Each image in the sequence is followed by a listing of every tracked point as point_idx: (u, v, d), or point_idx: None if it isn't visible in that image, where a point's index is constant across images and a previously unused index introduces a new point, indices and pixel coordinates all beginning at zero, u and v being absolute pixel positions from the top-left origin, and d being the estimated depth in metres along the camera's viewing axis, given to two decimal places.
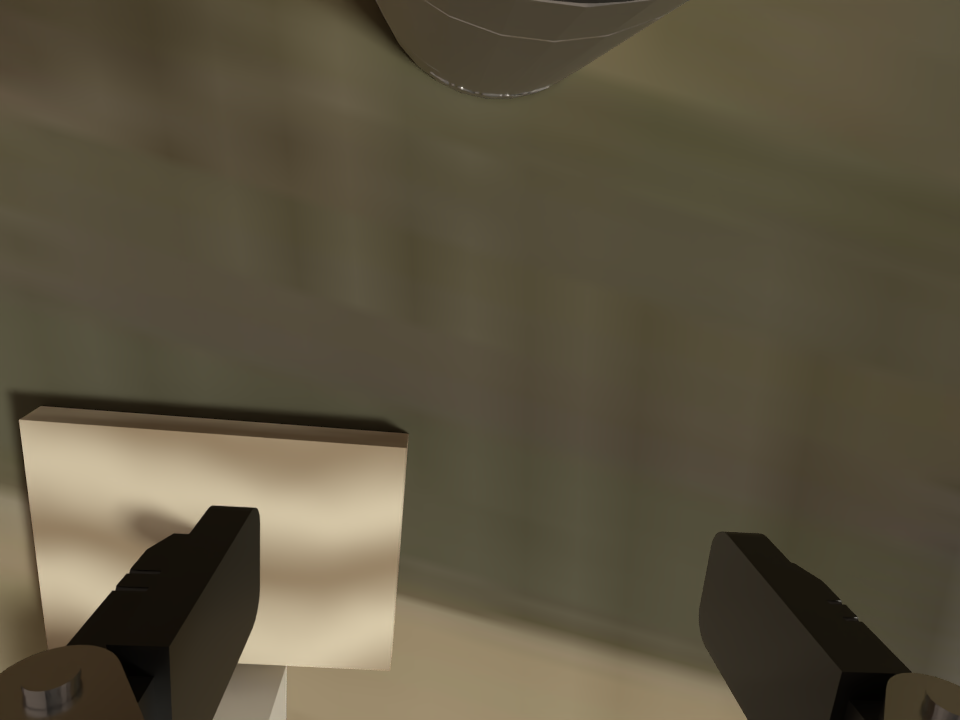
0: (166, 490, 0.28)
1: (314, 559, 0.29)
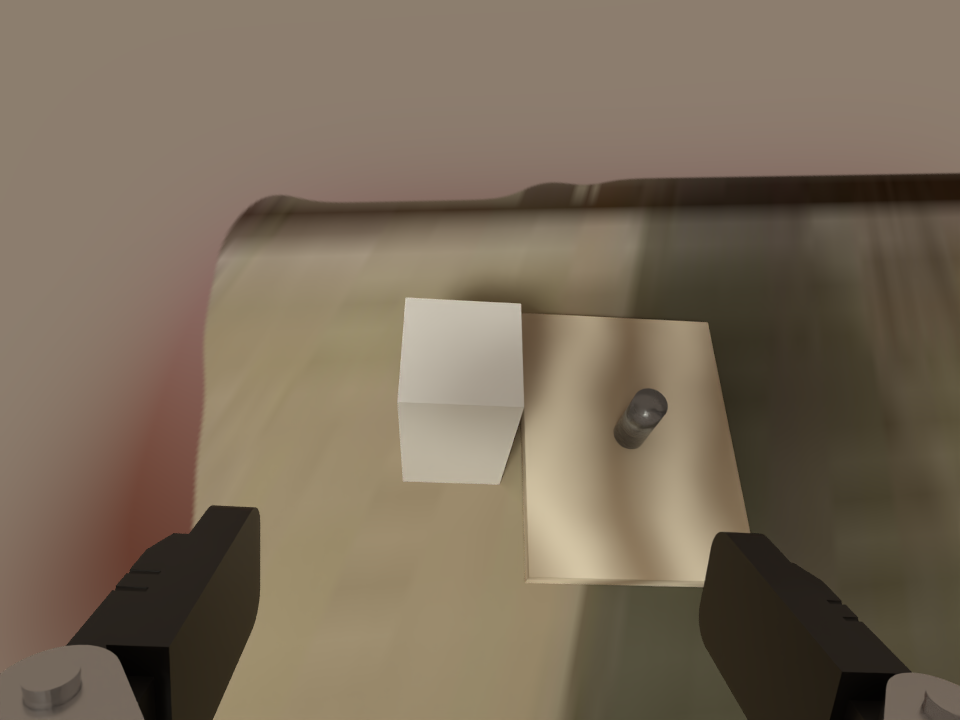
0: (677, 402, 0.38)
1: (639, 507, 0.35)
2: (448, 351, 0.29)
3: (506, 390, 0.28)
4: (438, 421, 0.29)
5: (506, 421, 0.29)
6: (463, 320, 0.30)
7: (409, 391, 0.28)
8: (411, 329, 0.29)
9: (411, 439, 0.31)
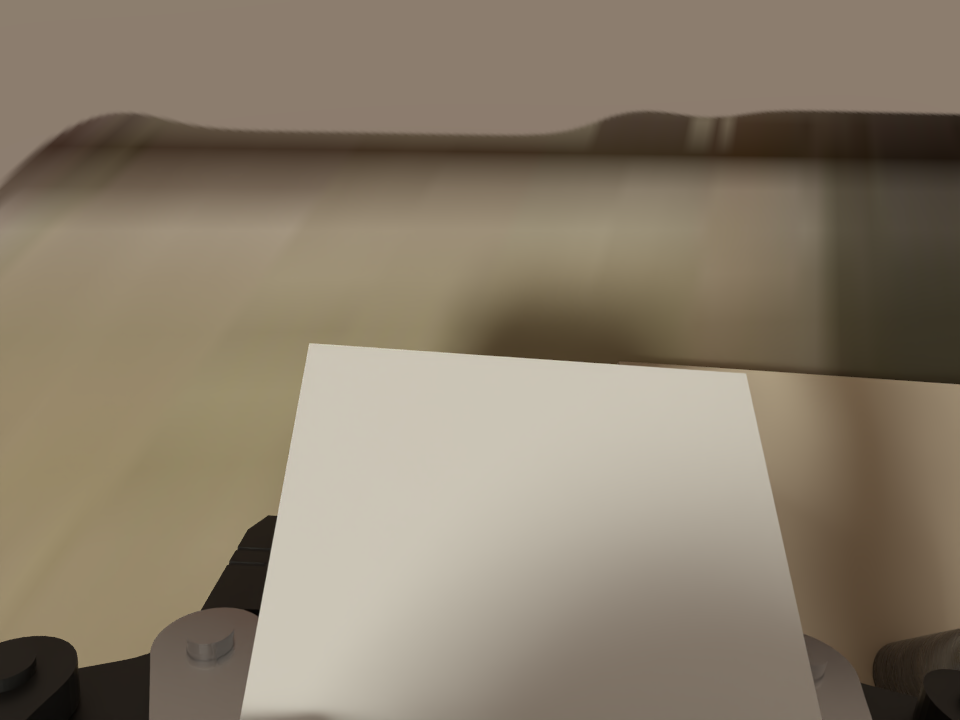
0: None
1: None
2: (476, 597, 0.06)
3: None
4: None
5: None
6: (534, 444, 0.07)
7: None
8: (320, 483, 0.07)
9: None
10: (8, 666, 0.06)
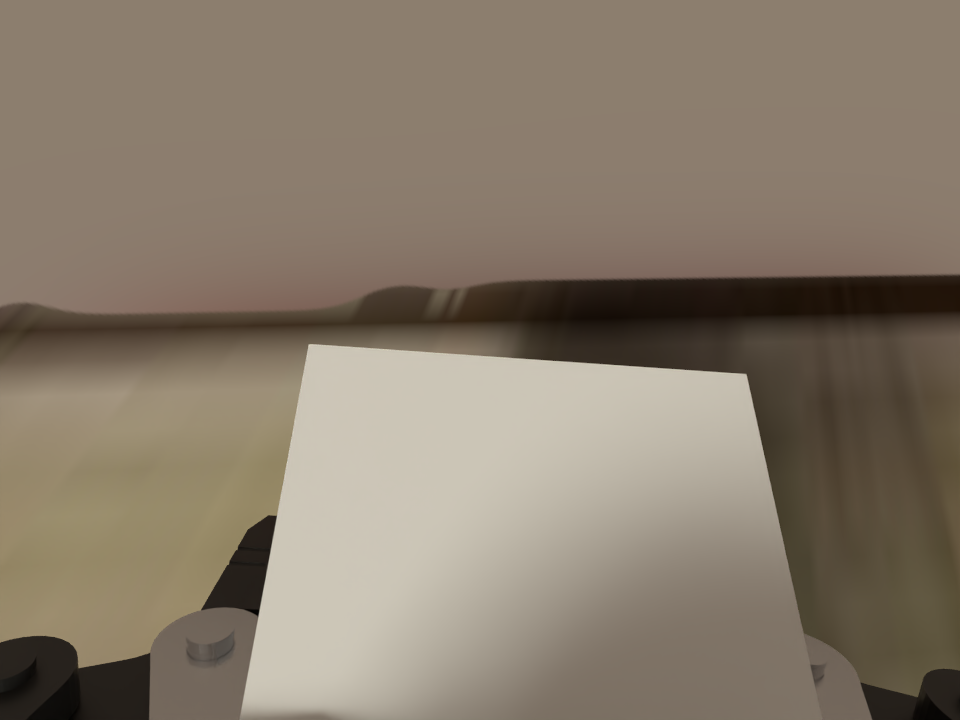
0: None
1: None
2: (476, 599, 0.06)
3: None
4: None
5: None
6: (534, 445, 0.07)
7: None
8: (320, 484, 0.07)
9: None
10: (7, 665, 0.06)
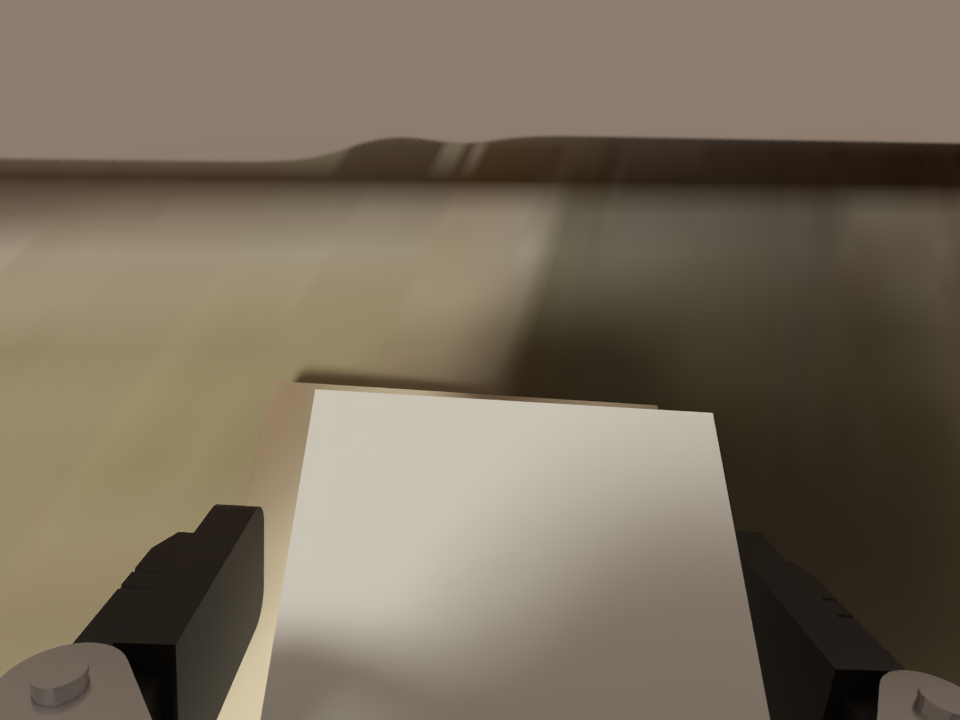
0: None
1: None
2: (466, 623, 0.07)
3: None
4: None
5: None
6: (519, 481, 0.08)
7: None
8: (327, 519, 0.08)
9: None
10: None
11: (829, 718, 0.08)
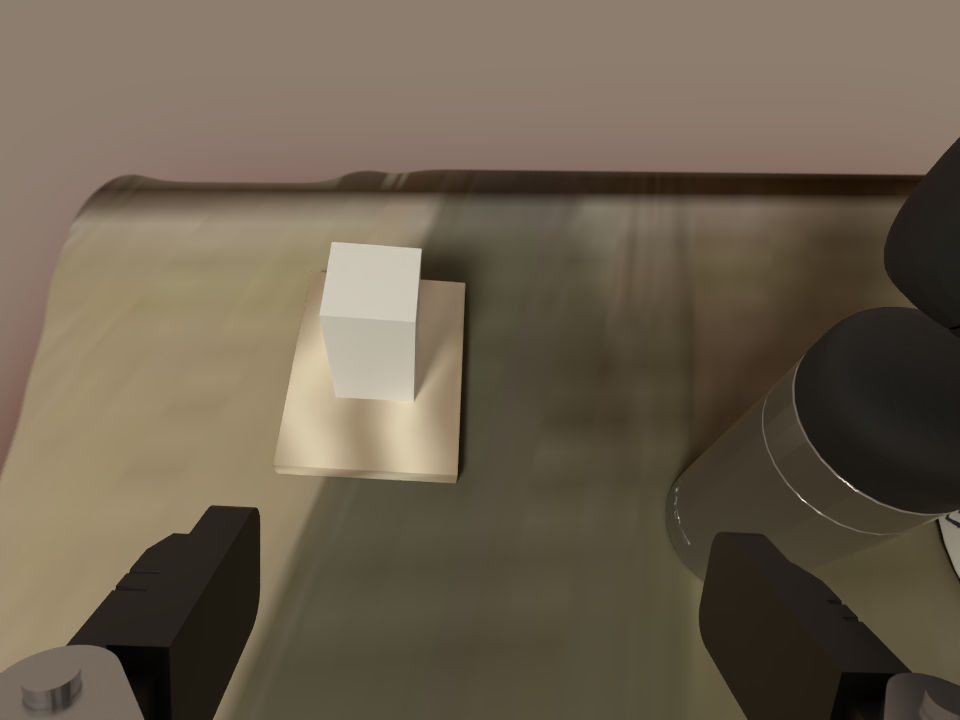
0: (424, 342, 0.48)
1: (373, 418, 0.44)
2: (361, 281, 0.38)
3: (402, 310, 0.37)
4: (353, 335, 0.38)
5: (405, 335, 0.38)
6: (375, 259, 0.39)
7: (329, 308, 0.37)
8: (334, 264, 0.38)
9: (335, 352, 0.40)
10: None
11: None
